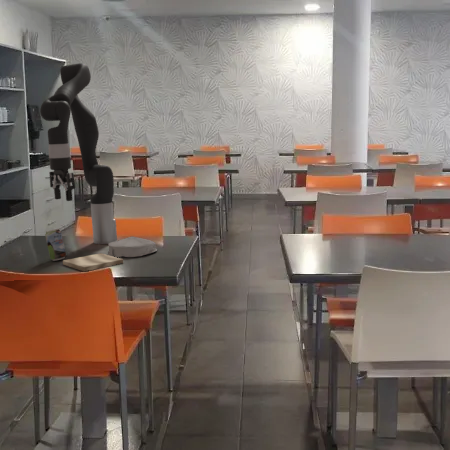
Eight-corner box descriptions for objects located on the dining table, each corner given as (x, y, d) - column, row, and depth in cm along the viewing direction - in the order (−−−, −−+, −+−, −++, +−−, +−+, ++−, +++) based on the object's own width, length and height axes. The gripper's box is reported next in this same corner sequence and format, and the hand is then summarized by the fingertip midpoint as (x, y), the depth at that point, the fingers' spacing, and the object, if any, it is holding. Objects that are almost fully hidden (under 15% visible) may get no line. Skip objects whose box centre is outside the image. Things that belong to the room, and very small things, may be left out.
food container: (96, 255, 251) (95, 238, 250) (136, 245, 265) (134, 229, 264) (128, 262, 237) (127, 244, 236) (168, 251, 252) (167, 234, 250)
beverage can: (62, 261, 238) (59, 230, 236) (44, 261, 240) (41, 230, 238) (69, 258, 244) (67, 227, 242) (52, 258, 246) (49, 227, 244)
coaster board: (101, 256, 244) (100, 253, 244) (123, 263, 232) (123, 259, 232) (63, 264, 234) (62, 260, 234) (84, 271, 222) (83, 267, 222)
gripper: (78, 156, 230) (82, 200, 233) (59, 155, 241) (63, 197, 243) (60, 157, 225) (64, 202, 228) (41, 156, 236) (45, 199, 239)
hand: (63, 199), depth 236 cm, fingers open, 8 cm apart
